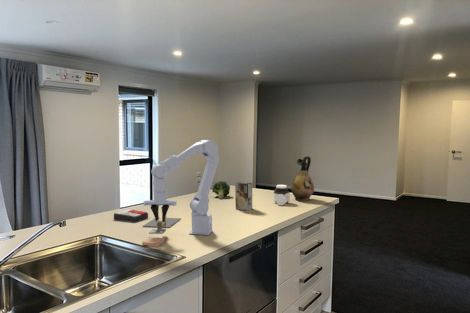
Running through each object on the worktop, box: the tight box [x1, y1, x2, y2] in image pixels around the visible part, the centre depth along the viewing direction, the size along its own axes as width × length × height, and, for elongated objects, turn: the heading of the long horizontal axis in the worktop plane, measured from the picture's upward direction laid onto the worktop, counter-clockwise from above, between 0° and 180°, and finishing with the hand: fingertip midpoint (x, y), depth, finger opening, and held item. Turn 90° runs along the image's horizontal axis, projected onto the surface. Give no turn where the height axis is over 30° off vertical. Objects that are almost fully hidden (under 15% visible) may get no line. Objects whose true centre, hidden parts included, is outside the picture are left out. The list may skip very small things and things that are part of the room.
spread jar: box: [273, 184, 291, 206], centre depth 238 cm, size 12×11×12 cm
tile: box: [141, 236, 165, 247], centre depth 157 cm, size 7×2×7 cm
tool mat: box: [142, 216, 182, 229], centre depth 191 cm, size 14×18×1 cm
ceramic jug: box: [290, 155, 315, 202], centre depth 251 cm, size 17×15×30 cm
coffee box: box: [234, 181, 253, 211], centre depth 224 cm, size 9×6×16 cm
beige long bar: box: [148, 215, 168, 235], centre depth 164 cm, size 14×6×4 cm, turn 176°
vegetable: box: [211, 180, 231, 199], centre depth 264 cm, size 12×13×15 cm
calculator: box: [113, 208, 149, 223], centre depth 201 cm, size 11×4×15 cm
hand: (160, 221), depth 165 cm, fingers closed on beige long bar, 2 cm apart
